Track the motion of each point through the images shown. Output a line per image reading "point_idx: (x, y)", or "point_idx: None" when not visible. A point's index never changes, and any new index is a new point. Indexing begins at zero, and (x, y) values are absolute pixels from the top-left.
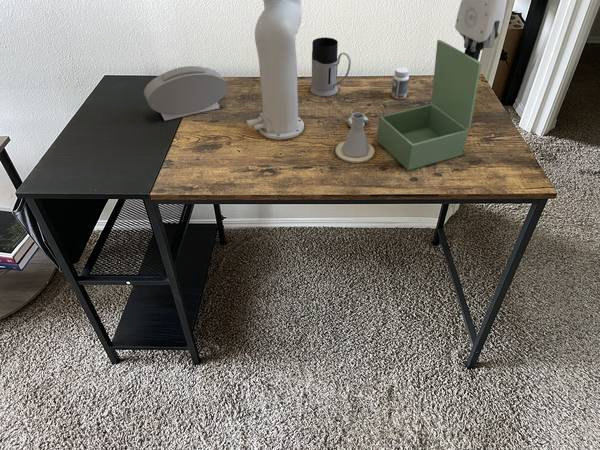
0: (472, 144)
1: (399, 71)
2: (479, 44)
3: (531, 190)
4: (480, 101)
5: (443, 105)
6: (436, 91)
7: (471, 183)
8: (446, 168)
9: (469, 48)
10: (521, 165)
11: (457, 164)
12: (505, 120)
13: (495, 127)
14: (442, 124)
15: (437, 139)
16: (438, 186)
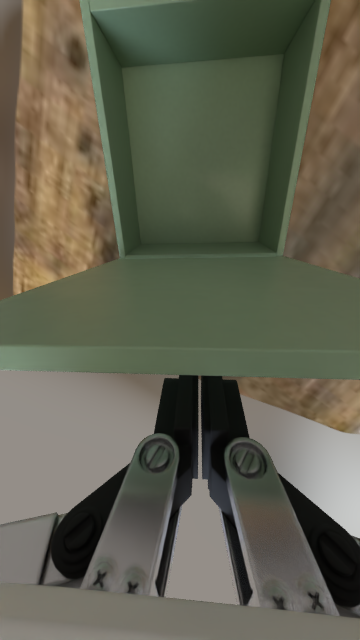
0: None
1: None
2: (88, 530)
3: (17, 288)
4: (278, 388)
5: (228, 259)
6: (280, 263)
7: (44, 201)
8: (103, 182)
9: (214, 452)
10: None
11: (111, 217)
12: None
13: None
14: (211, 248)
15: (102, 143)
16: (40, 113)
